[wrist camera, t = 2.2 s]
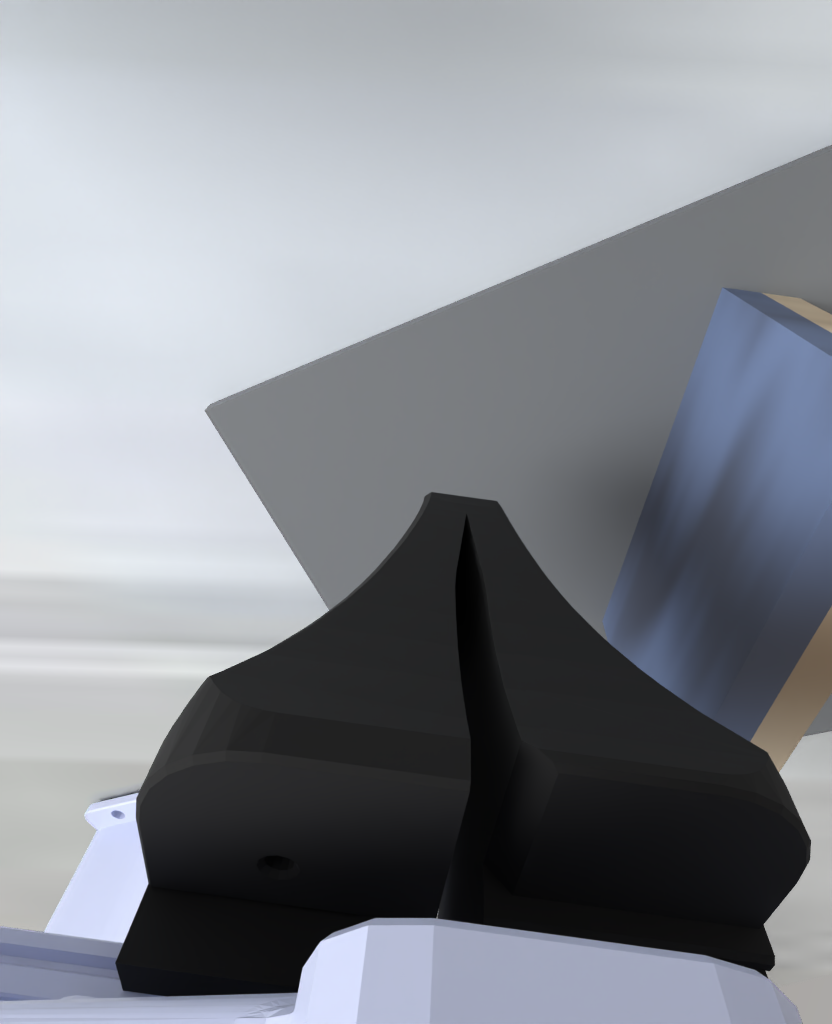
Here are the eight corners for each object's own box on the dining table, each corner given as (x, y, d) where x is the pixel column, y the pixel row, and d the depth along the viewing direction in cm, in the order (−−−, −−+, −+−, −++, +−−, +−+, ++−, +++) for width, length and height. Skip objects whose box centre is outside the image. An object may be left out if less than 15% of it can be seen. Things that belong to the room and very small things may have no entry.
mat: (451, 795, 23) (451, 805, 22) (210, 404, 15) (204, 410, 15) (1125, 659, 18) (1138, 670, 17) (1237, -25, 10) (1263, -30, 10)
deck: (659, 628, 18) (738, 834, 13) (601, 621, 18) (657, 823, 13) (800, 298, 13) (1018, 411, 8) (722, 287, 13) (889, 394, 8)
